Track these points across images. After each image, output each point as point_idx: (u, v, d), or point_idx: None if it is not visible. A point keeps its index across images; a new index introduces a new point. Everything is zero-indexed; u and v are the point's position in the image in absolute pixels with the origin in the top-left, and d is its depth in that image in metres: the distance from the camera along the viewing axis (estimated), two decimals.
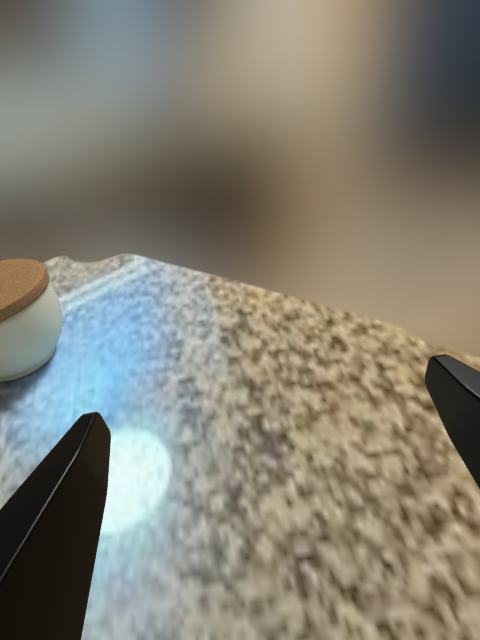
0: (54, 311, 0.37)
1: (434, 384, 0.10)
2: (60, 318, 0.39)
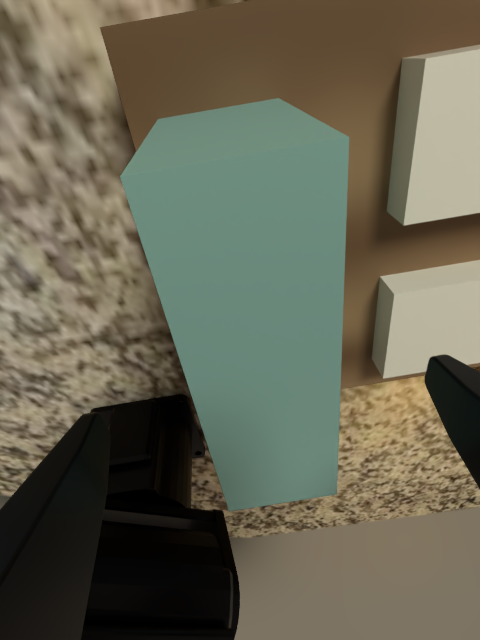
0: None
1: (434, 384, 0.10)
2: None
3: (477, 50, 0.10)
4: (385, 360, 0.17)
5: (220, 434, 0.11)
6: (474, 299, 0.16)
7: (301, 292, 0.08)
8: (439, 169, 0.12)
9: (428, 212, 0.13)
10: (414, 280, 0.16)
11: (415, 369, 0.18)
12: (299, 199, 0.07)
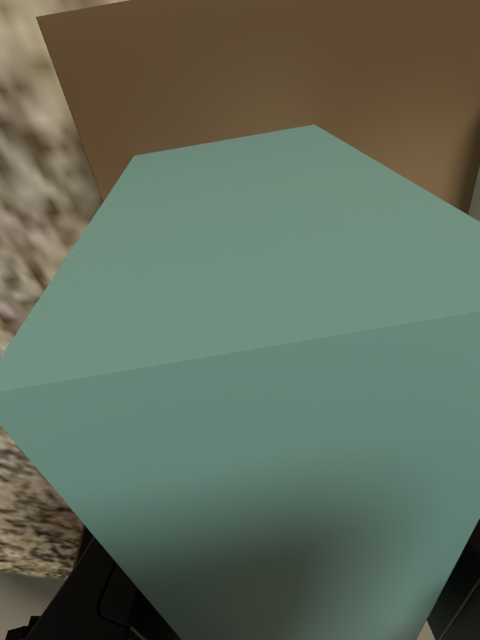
0: None
1: None
2: None
3: None
4: None
5: None
6: None
7: (394, 532, 0.04)
8: None
9: None
10: None
11: None
12: (430, 412, 0.03)
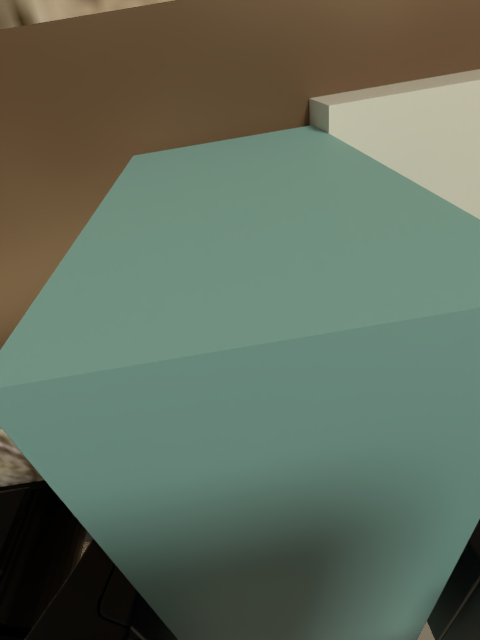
0: None
1: None
2: None
3: (407, 93, 0.07)
4: None
5: None
6: None
7: (395, 531, 0.04)
8: None
9: None
10: None
11: None
12: (430, 408, 0.03)
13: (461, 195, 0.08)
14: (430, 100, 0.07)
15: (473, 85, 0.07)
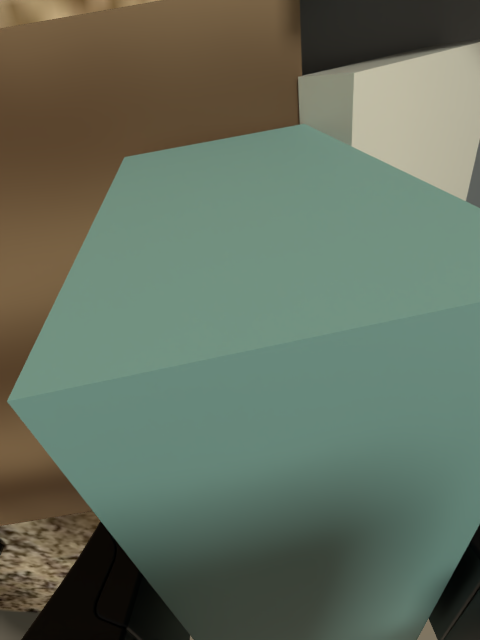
0: None
1: None
2: None
3: (406, 61, 0.07)
4: None
5: None
6: None
7: (413, 519, 0.04)
8: None
9: None
10: None
11: None
12: (454, 397, 0.03)
13: (433, 157, 0.09)
14: (419, 68, 0.07)
15: (444, 55, 0.08)
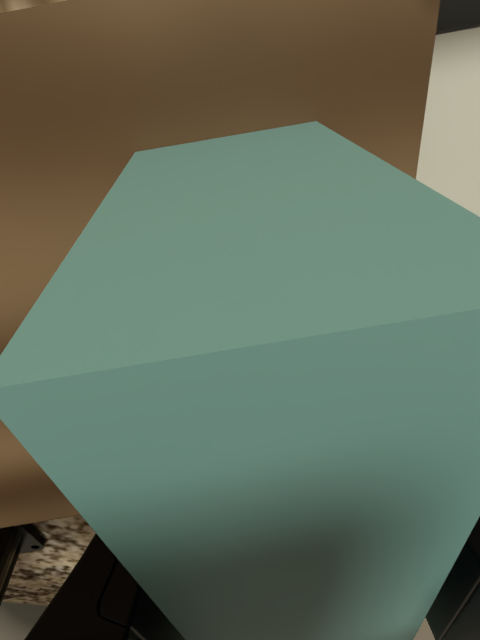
0: None
1: None
2: None
3: None
4: None
5: None
6: None
7: (395, 528, 0.04)
8: (434, 180, 0.10)
9: None
10: None
11: None
12: (431, 408, 0.03)
13: None
14: None
15: None
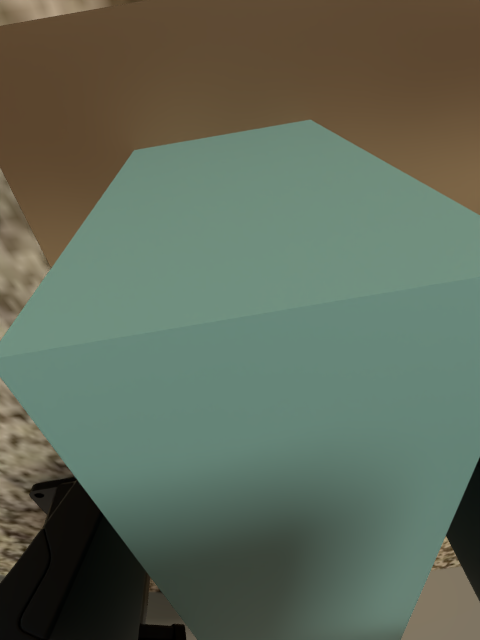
0: None
1: None
2: None
3: None
4: None
5: None
6: None
7: (383, 503, 0.04)
8: None
9: None
10: None
11: None
12: (412, 381, 0.03)
13: None
14: None
15: None
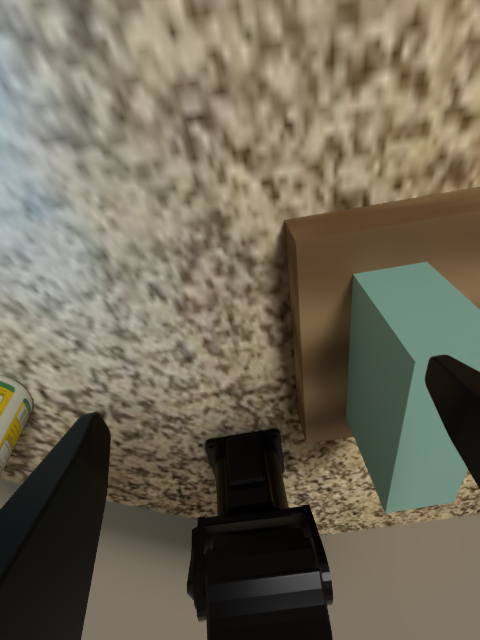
0: None
1: (434, 384, 0.10)
2: None
3: None
4: None
5: (403, 468, 0.18)
6: None
7: None
8: None
9: None
10: None
11: None
12: None
13: None
14: None
15: None
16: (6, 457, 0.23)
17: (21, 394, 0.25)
